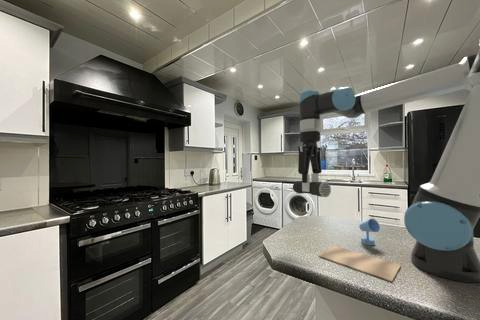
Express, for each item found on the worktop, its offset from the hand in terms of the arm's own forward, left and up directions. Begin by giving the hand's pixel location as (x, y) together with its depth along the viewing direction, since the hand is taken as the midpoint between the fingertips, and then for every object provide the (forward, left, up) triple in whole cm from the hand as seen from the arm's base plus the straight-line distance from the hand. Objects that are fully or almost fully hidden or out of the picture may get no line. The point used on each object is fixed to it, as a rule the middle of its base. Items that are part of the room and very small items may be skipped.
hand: (310, 190), depth 79 cm
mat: (-17, +2, -21) cm, 27 cm away
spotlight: (-15, -17, -21) cm, 31 cm away
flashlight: (0, 0, -2) cm, 2 cm away
